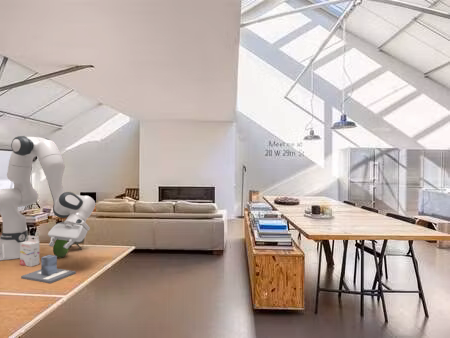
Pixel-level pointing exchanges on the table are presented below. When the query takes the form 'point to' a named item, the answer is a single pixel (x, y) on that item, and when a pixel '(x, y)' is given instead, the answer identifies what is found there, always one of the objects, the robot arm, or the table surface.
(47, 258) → the slate-blue block
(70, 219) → the robot arm
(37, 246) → the ink cartridge box
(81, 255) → the table surface
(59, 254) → the fruit
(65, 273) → the letter board
